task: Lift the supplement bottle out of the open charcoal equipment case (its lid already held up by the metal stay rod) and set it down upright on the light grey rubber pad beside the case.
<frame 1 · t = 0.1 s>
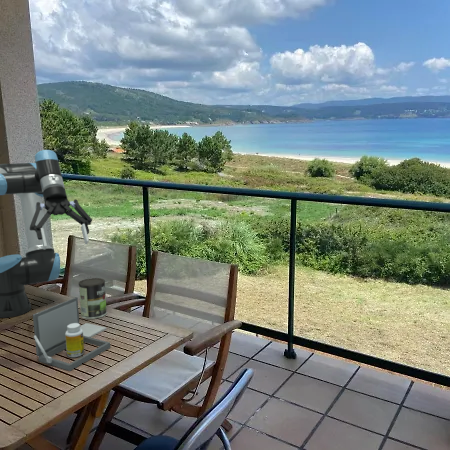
hand: (66, 245, 148), 36 cm above the table, tool tilted 35°, fingers open, 13 cm apart
case: (75, 354, 147), on the table
coffee can: (94, 314, 182), on the table
supplement bottle: (75, 354, 147), resting in case
pad: (86, 331, 165), on the table
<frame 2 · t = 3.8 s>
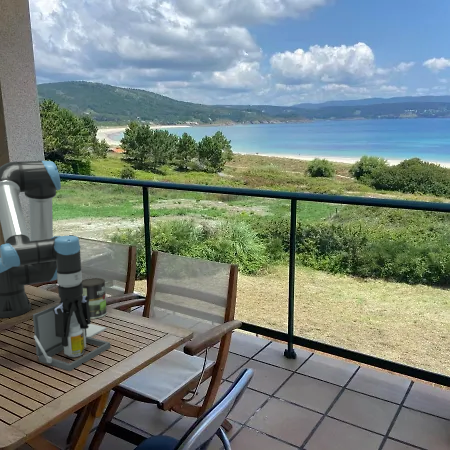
hand: (75, 350, 147), 1 cm above the table, tool pointing down, fingers closed on supplement bottle, 6 cm apart
supplement bottle: (75, 354, 147), resting in case, touching gripper
everything else where it was.
when the fingers open (3 cm above the table, at t = 9.9 s): supplement bottle drops 1 cm, resting on pad.
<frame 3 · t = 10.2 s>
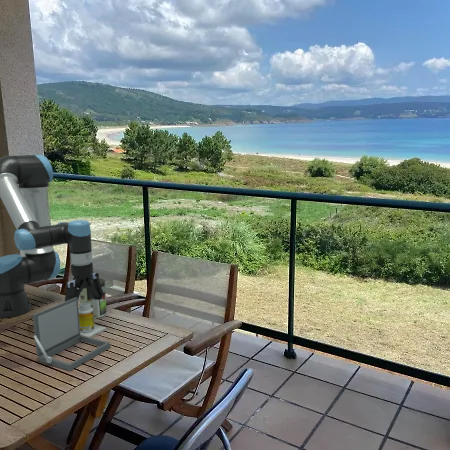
hand: (86, 320, 164), 4 cm above the table, tool pointing down, fingers open, 10 cm apart
supplement bottle: (86, 330, 165), resting on pad
everything else where it was.
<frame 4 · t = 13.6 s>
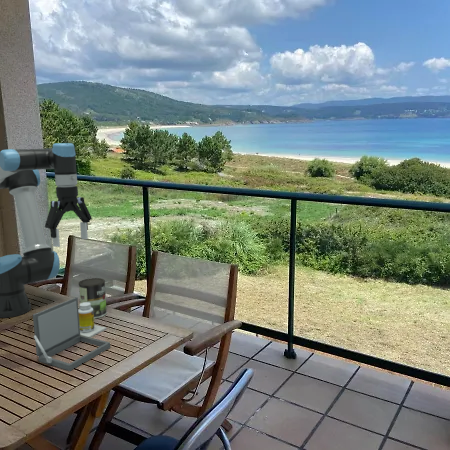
hand: (71, 242, 165), 33 cm above the table, tool pointing down, fingers open, 13 cm apart
nothing on the table moved.
at the end: supplement bottle 0.1 cm from the pad (horizontally); supplement bottle tilted 0°; the gripper is holding nothing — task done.
